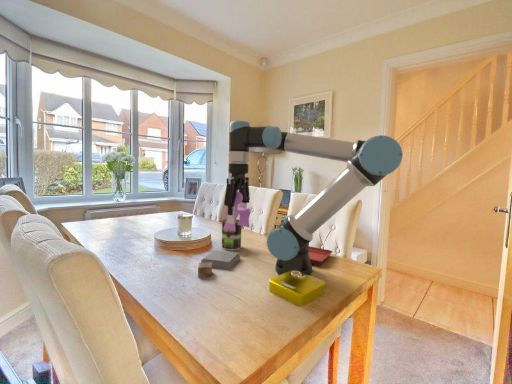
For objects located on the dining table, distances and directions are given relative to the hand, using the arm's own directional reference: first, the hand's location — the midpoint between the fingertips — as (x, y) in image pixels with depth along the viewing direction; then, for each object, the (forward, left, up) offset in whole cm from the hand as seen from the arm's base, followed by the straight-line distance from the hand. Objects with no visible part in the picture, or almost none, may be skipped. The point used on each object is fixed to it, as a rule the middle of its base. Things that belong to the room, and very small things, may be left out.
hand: (237, 220), depth 105 cm
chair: (0, 0, -3) cm, 3 cm away
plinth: (+11, -10, -22) cm, 26 cm away
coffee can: (+14, -31, -22) cm, 40 cm away
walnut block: (+12, +4, -22) cm, 25 cm away
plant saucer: (-26, -29, -22) cm, 45 cm away
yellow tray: (-25, +7, -22) cm, 34 cm away
